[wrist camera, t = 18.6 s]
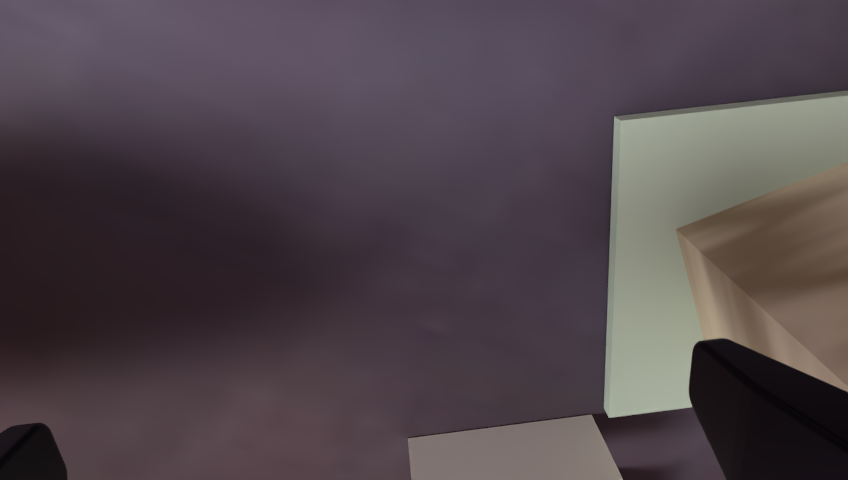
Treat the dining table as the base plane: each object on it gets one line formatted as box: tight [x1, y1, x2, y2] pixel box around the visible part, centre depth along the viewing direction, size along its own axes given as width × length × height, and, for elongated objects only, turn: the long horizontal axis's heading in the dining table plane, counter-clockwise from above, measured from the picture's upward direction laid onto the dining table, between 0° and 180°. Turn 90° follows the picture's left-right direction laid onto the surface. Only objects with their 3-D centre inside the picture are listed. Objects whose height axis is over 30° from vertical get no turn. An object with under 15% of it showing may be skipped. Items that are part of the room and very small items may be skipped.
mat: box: [604, 90, 848, 418], centre depth 24 cm, size 12×12×1 cm
